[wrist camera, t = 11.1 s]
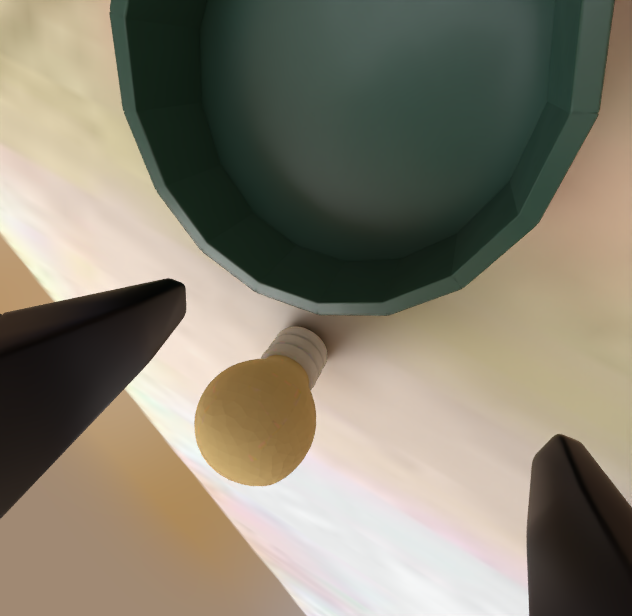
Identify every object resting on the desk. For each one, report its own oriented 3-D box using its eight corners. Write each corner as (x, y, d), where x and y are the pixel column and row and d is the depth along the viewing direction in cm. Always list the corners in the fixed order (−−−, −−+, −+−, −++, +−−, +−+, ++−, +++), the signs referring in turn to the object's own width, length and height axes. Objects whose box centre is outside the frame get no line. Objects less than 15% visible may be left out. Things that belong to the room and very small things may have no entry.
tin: (701, -172, 10) (842, -325, 6) (464, 307, 20) (459, 366, 16) (185, -205, 13) (62, -319, 9) (199, 220, 23) (142, 252, 19)
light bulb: (356, 320, 23) (291, 454, 15) (342, 391, 26) (283, 528, 19) (263, 293, 24) (159, 401, 16) (262, 363, 28) (176, 479, 20)
